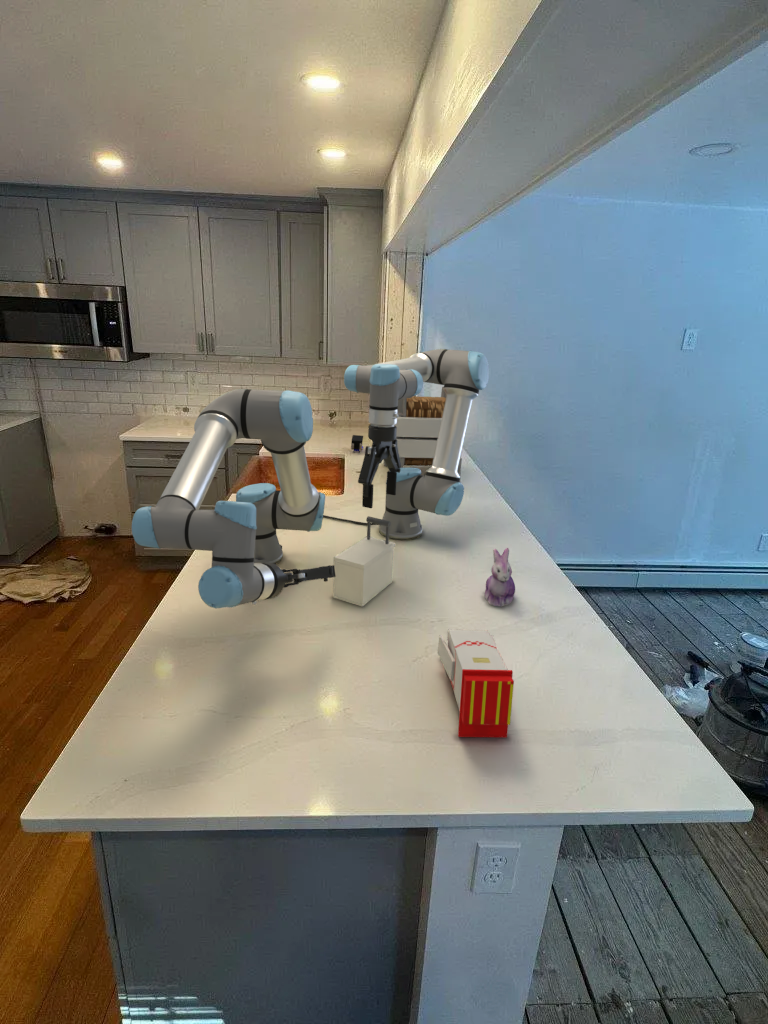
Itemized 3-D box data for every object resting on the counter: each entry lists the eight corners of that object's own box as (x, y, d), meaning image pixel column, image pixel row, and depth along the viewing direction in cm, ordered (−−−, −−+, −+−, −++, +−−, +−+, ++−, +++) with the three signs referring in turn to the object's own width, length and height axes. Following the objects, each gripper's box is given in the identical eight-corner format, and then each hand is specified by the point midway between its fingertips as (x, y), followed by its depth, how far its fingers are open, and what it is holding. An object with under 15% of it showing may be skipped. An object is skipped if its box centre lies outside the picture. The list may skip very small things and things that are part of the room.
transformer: (382, 463, 289) (386, 382, 275) (445, 464, 293) (451, 384, 279) (390, 482, 257) (394, 392, 243) (460, 483, 261) (468, 394, 247)
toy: (488, 613, 130) (523, 677, 101) (484, 667, 133) (517, 744, 104) (435, 612, 130) (455, 676, 101) (432, 666, 133) (451, 743, 103)
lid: (367, 539, 166) (367, 513, 163) (395, 546, 162) (396, 520, 159) (333, 561, 151) (333, 532, 148) (363, 569, 147) (364, 540, 144)
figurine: (497, 611, 151) (503, 559, 146) (474, 594, 159) (479, 545, 154) (524, 604, 155) (532, 554, 150) (501, 588, 163) (507, 540, 158)
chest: (364, 574, 169) (365, 540, 165) (392, 581, 165) (394, 547, 161) (332, 597, 154) (333, 561, 151) (362, 606, 150) (363, 569, 147)
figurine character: (362, 456, 306) (363, 447, 319) (363, 443, 302) (363, 434, 316) (350, 456, 306) (351, 446, 319) (350, 442, 302) (351, 433, 316)
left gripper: (209, 607, 117) (263, 596, 138) (317, 593, 110) (358, 584, 130) (205, 571, 118) (259, 566, 138) (312, 554, 110) (353, 551, 130)
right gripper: (372, 434, 138) (369, 516, 145) (415, 419, 159) (411, 491, 166) (345, 430, 141) (344, 510, 148) (391, 416, 162) (388, 487, 169)
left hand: (307, 574), depth 134 cm, fingers open, 13 cm apart
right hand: (379, 500), depth 157 cm, fingers open, 13 cm apart
